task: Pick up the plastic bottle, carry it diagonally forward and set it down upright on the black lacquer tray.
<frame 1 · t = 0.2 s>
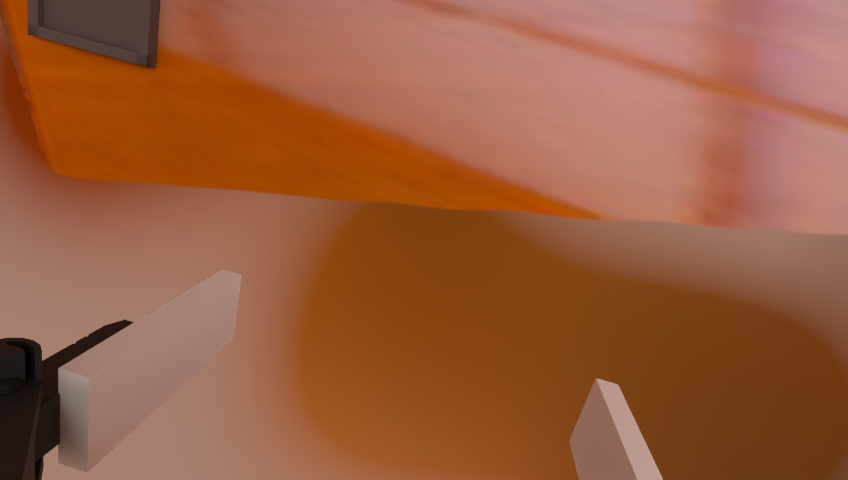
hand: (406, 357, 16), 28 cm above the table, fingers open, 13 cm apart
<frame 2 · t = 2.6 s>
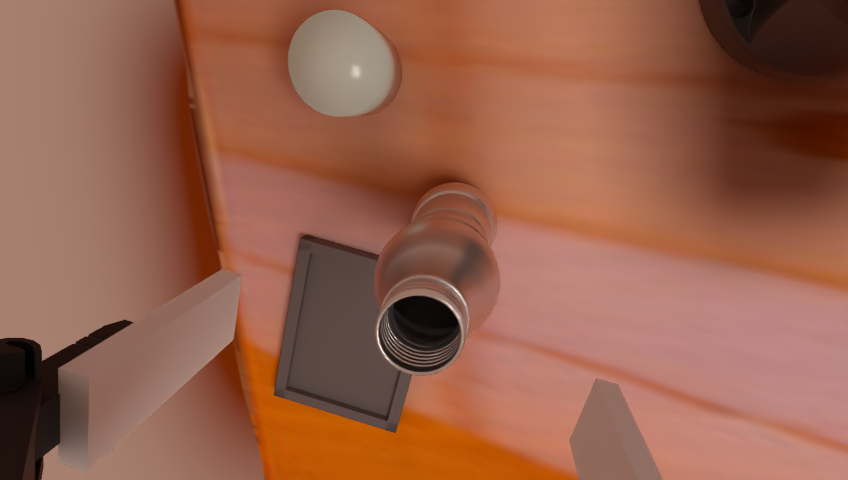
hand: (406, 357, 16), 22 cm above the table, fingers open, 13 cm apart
tray: (354, 334, 41), on the table
plastic bottle: (456, 217, 37), on the table
white rounded cylinder: (360, 72, 35), on the table
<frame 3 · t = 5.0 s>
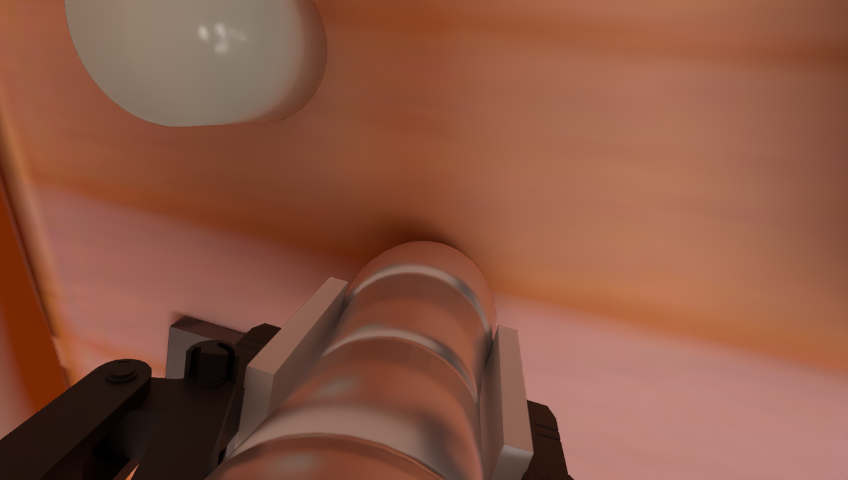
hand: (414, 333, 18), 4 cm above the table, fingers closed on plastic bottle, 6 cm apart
tray: (271, 467, 26), on the table
plastic bottle: (427, 293, 22), on the table, touching gripper
white rounded cylinder: (254, 46, 20), on the table
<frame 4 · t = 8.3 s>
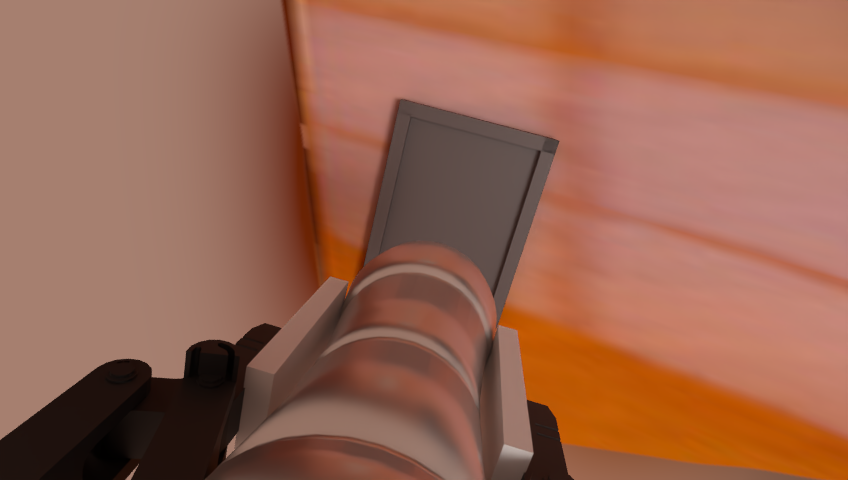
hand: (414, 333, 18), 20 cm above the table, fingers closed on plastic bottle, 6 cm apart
tray: (452, 218, 37), on the table
plastic bottle: (427, 293, 22), point 16 cm above the table, touching gripper
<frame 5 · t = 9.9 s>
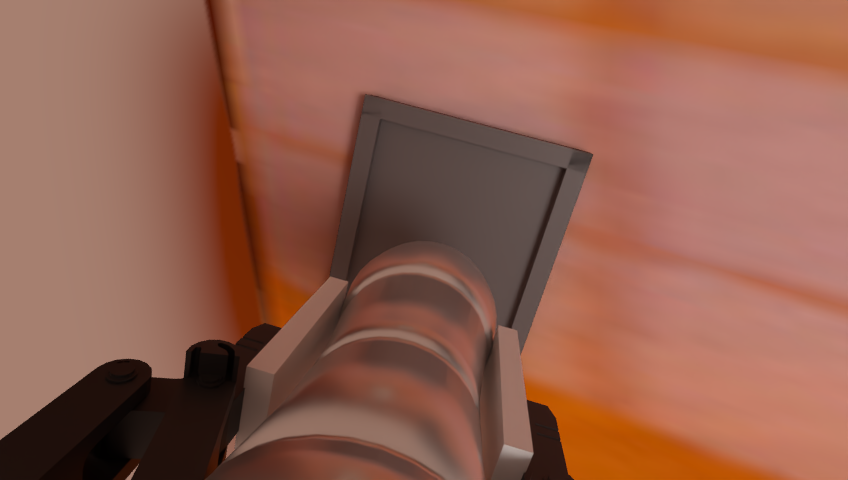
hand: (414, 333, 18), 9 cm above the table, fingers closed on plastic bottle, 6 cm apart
tray: (440, 259, 27), on the table
plastic bottle: (427, 293, 22), point 5 cm above the table, touching gripper
when the fingers open (6 cm above the table, at t = 11.4 s): plastic bottle drops 1 cm, resting on tray.
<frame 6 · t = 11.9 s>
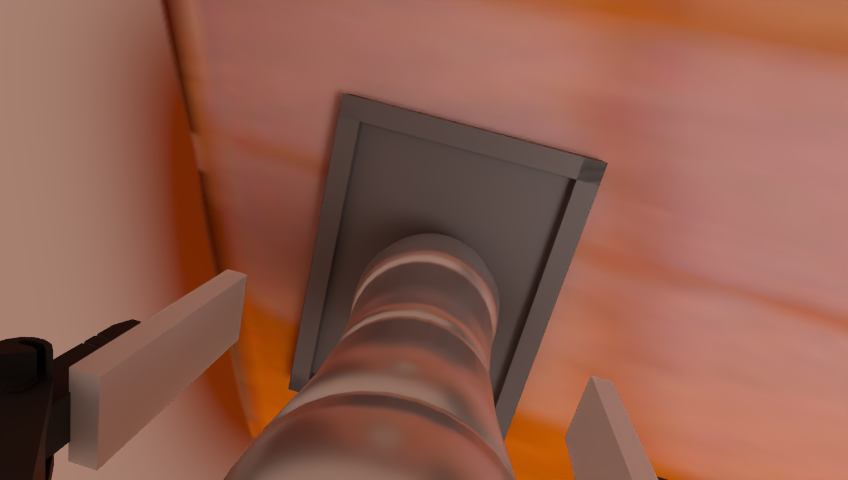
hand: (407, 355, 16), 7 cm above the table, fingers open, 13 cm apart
tray: (431, 281, 23), on the table
plastic bottle: (431, 284, 23), resting on tray
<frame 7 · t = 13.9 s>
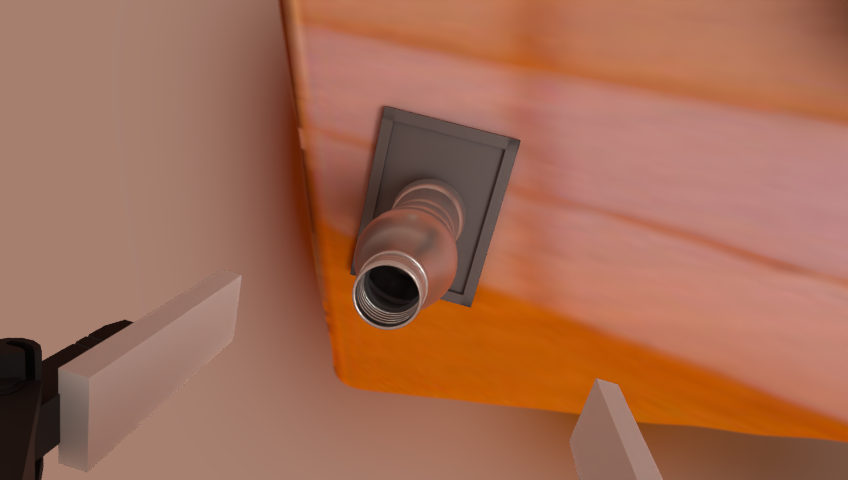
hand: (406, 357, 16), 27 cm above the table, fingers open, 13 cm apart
tray: (431, 209, 42), on the table
plastic bottle: (431, 209, 42), resting on tray
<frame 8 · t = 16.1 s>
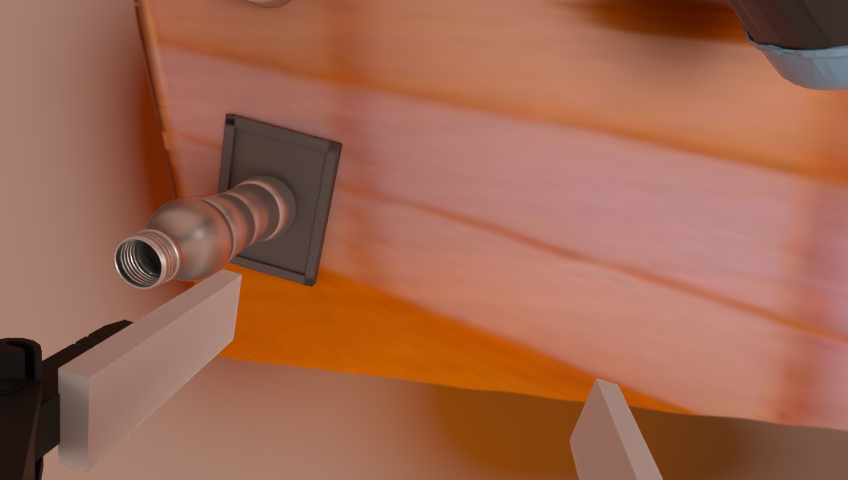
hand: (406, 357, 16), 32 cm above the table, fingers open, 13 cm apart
tray: (276, 202, 49), on the table
plastic bottle: (275, 202, 49), resting on tray
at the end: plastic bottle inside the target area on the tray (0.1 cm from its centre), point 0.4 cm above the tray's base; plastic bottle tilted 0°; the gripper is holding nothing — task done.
